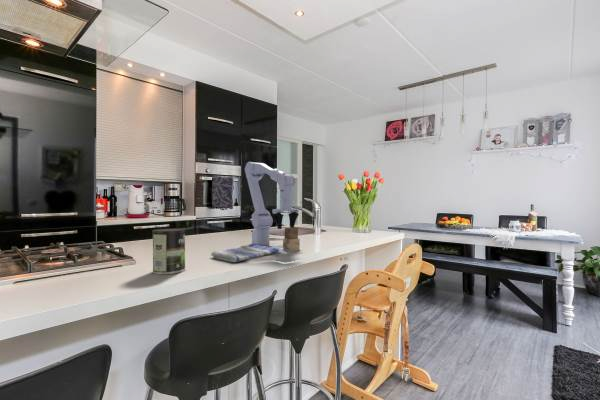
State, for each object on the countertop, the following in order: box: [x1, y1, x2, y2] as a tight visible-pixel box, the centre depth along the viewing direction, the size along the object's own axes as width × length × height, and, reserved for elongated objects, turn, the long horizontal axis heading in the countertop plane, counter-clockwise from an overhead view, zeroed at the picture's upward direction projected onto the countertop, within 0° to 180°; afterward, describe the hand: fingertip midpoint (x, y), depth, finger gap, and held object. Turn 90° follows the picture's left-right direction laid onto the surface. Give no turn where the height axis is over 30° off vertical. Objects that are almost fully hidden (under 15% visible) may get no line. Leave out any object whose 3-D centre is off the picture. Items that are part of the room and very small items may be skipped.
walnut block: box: [284, 226, 299, 239], centre depth 142 cm, size 4×4×5 cm
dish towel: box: [210, 243, 279, 263], centre depth 128 cm, size 17×24×3 cm
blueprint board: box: [271, 244, 303, 254], centre depth 143 cm, size 16×16×1 cm
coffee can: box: [151, 227, 186, 275], centre depth 103 cm, size 10×10×14 cm
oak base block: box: [282, 237, 301, 252], centre depth 142 cm, size 6×6×5 cm
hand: (285, 228), depth 145 cm, fingers open, 7 cm apart
